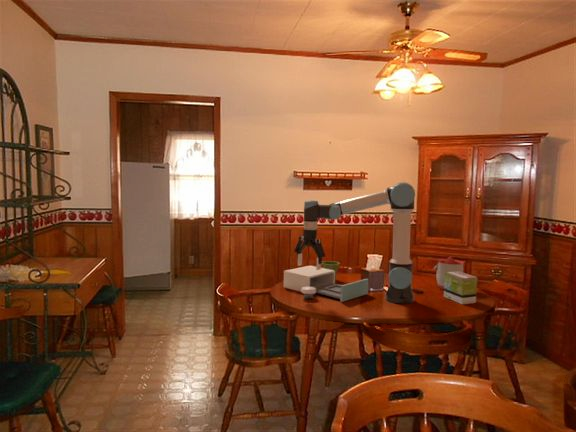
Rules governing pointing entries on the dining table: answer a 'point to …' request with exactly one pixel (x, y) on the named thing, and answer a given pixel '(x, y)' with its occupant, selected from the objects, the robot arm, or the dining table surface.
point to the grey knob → (308, 296)
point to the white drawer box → (308, 277)
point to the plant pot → (331, 266)
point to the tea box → (460, 287)
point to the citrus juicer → (447, 269)
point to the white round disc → (308, 290)
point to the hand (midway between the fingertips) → (308, 267)
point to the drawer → (344, 290)
